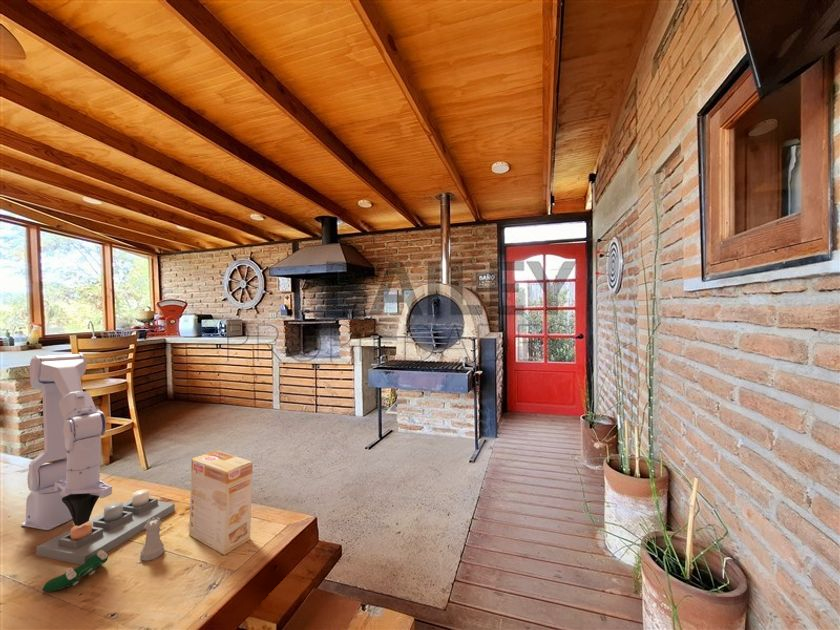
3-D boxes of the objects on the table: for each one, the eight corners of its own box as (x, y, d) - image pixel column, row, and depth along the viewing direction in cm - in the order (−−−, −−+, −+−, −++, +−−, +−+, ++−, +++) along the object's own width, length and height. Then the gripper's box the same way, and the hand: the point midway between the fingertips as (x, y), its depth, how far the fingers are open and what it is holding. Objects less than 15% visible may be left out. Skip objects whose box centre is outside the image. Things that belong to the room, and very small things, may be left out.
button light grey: (99, 521, 86) (100, 509, 86) (115, 513, 89) (115, 501, 89) (111, 523, 85) (111, 511, 85) (126, 515, 89) (126, 503, 89)
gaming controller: (48, 604, 67) (65, 587, 66) (38, 587, 68) (55, 570, 67) (101, 571, 76) (116, 555, 75) (92, 556, 77) (107, 541, 76)
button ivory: (128, 506, 93) (128, 495, 93) (141, 499, 96) (141, 488, 96) (139, 507, 92) (139, 496, 92) (152, 501, 96) (152, 490, 96)
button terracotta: (66, 543, 79) (66, 530, 79) (84, 533, 83) (84, 521, 83) (78, 545, 78) (78, 532, 78) (95, 535, 82) (96, 523, 82)
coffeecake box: (251, 539, 85) (253, 461, 86) (223, 556, 79) (226, 472, 79) (215, 521, 93) (218, 449, 93) (187, 535, 86) (190, 458, 86)
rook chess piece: (168, 551, 80) (170, 517, 80) (148, 564, 76) (149, 528, 76) (155, 546, 82) (156, 513, 82) (134, 559, 78) (136, 523, 78)
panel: (36, 555, 78) (36, 539, 78) (134, 504, 99) (134, 492, 99) (84, 565, 75) (85, 549, 75) (174, 510, 97) (174, 498, 97)
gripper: (38, 469, 78) (36, 528, 78) (88, 476, 75) (86, 538, 75) (75, 457, 85) (73, 511, 85) (122, 463, 82) (120, 520, 82)
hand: (81, 523), depth 81 cm, fingers closed
